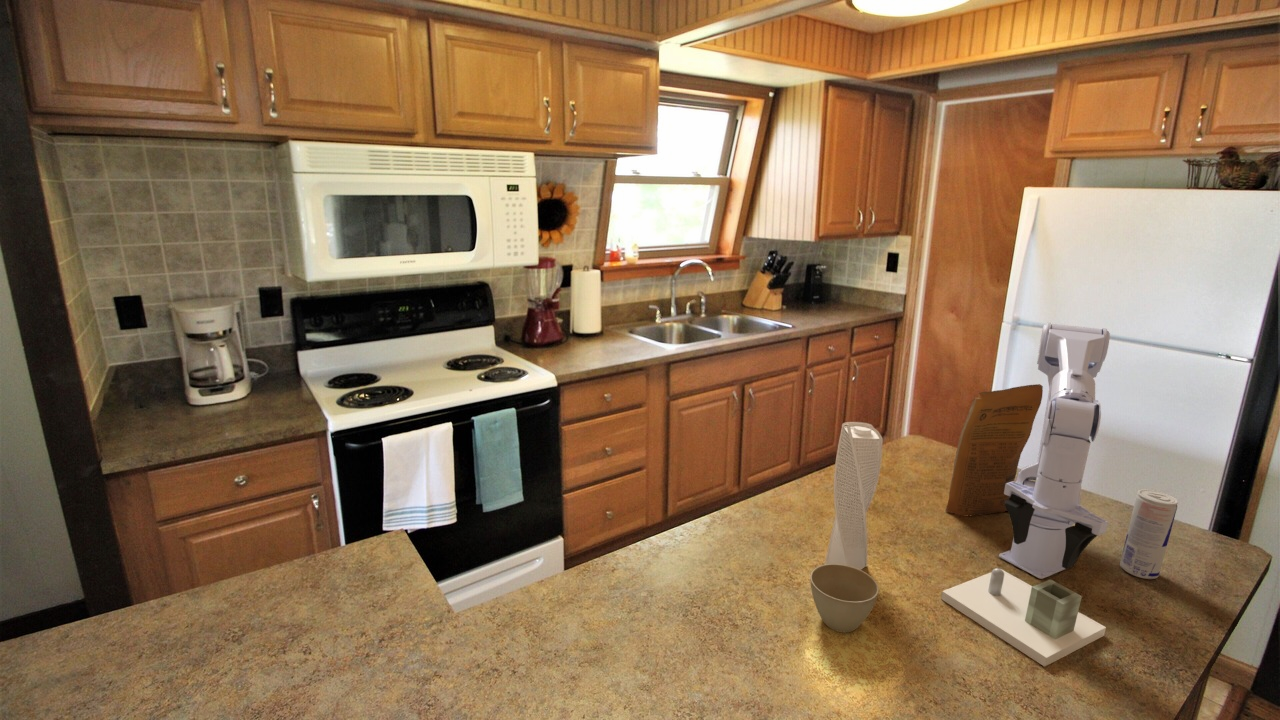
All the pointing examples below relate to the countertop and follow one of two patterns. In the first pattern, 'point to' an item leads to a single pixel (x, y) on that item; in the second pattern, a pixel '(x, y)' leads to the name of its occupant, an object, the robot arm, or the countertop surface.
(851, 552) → the skyscraper
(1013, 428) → the pancake mix bag
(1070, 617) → the square socket block
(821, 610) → the flower pot
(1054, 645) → the jig board
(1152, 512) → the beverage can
